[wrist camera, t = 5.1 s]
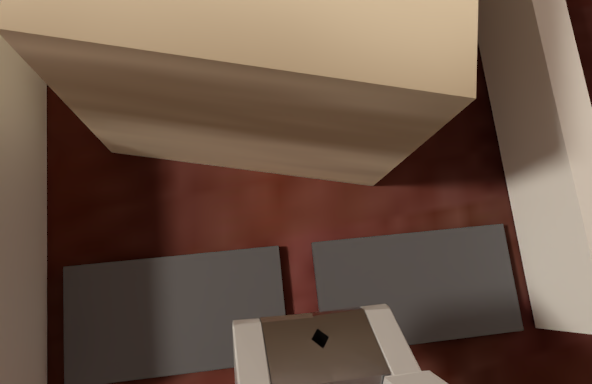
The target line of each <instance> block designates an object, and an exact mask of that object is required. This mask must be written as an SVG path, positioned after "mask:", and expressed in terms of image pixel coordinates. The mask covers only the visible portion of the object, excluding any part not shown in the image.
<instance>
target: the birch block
mask: <svg viewBox="0 0 592 384" xmlns="http://www.w3.org/2000/svg"><path fill="white" fill-rule="evenodd" d="M0 35H1V36H2V37H3V38H4V39H5V40H6V42H7V43H8V44H9V45H10V46H11V47H12V48H13V49H14V50H15V51H16V52H17V53H18V54H19V55H20V56H21V57H22V58H23V60H24V61H25V62H26V63H27V64H28V65H29V66H30V67H31V68H32V69H33V70H34V71H35V72H36V73H37V74H38V75H39V76H40V77H41V79H42V80H43V81H44V82H45V83H46V84H47V85H48V86H49V87H50V88H51V89H52V90H53V91H54V92H55V93H56V94H57V95H58V96H59V98H60V99H61V100H62V101H63V102H64V103H65V104H66V105H67V106H68V107H69V108H70V109H71V110H72V111H73V112H74V113H75V114H76V115H77V117H78V118H79V119H80V120H81V121H82V122H83V123H84V124H85V125H86V126H87V127H88V128H89V129H90V130H91V131H92V132H93V133H94V134H95V136H96V137H97V138H98V139H99V140H100V141H101V142H102V143H103V144H104V145H105V146H106V147H107V148H108V149H109V150H110V151H111V152H112V153H119V154H127V155H135V156H143V157H151V158H158V159H166V160H174V161H182V162H189V163H197V164H205V165H213V166H221V167H228V168H236V169H244V170H252V171H260V172H267V173H275V174H283V175H291V176H298V177H306V178H314V179H322V180H330V181H337V182H345V183H353V184H361V185H368V186H374V185H375V184H376V183H377V182H378V181H380V180H381V179H382V178H383V177H384V176H385V175H387V174H388V173H389V172H390V171H391V170H392V169H394V168H395V167H396V166H397V165H398V164H400V163H401V162H402V161H403V160H404V159H405V158H407V157H408V156H409V155H410V154H411V153H412V152H414V151H415V150H416V149H417V148H418V147H420V146H421V145H422V144H423V143H424V142H425V141H427V140H428V139H429V138H430V137H431V136H433V135H434V134H435V133H436V132H437V131H438V130H440V129H441V128H442V127H443V126H444V125H445V124H447V123H448V122H449V121H450V120H451V119H453V118H454V117H455V116H456V115H457V114H458V113H460V112H461V111H462V110H463V109H464V108H465V107H467V106H468V105H469V104H470V103H471V102H473V101H474V100H475V99H476V81H477V39H478V0H1V3H0Z"/></svg>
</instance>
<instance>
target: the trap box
mask: <svg viewBox="0 0 592 384" xmlns="http://www.w3.org/2000/svg"><path fill="white" fill-rule="evenodd" d="M0 3H1V0H0ZM478 44H479V49H480V54H481V59H482V64H483V69H484V74H485V79H486V84H487V89H488V94H489V99H490V104H491V109H492V114H493V119H494V124H495V128H496V133H497V138H498V143H499V148H500V153H501V158H502V163H503V168H504V173H505V178H506V183H507V188H508V193H509V198H510V203H511V208H512V213H513V218H514V223H515V228H516V233H517V238H518V243H519V248H520V253H521V258H522V263H523V268H524V273H525V278H526V283H527V288H528V293H529V298H530V303H531V308H532V313H533V318H534V323H535V328H540V329H549V330H557V331H566V332H575V333H584V334H592V106H591V102H590V98H589V94H588V90H587V86H586V82H585V78H584V74H583V70H582V66H581V62H580V58H579V54H578V50H577V45H576V41H575V37H574V33H573V29H572V25H571V21H570V17H569V13H568V9H567V5H566V1H565V0H478ZM311 244H312V253H313V262H314V271H315V279H316V288H317V297H318V306H319V312H320V311H328V310H336V309H344V308H353V307H361V306H370V305H378V304H386V305H388V306H389V307H390V309H391V311H392V313H393V315H394V317H395V319H396V321H397V323H398V325H399V327H400V329H401V331H402V333H403V335H404V337H405V339H406V341H407V343H408V345H413V344H421V343H429V342H437V341H445V340H453V339H461V338H468V337H476V336H484V335H492V334H500V333H508V332H516V331H523V330H524V328H523V323H522V318H521V313H520V308H519V303H518V298H517V293H516V288H515V282H514V277H513V272H512V267H511V262H510V257H509V252H508V247H507V242H506V236H505V231H504V226H503V224H496V225H486V226H476V227H465V228H455V229H445V230H435V231H424V232H414V233H404V234H394V235H384V236H373V237H363V238H353V239H343V240H332V241H322V242H312V243H311ZM63 309H64V384H107V383H115V382H123V381H131V380H139V379H146V378H154V377H162V376H170V375H178V374H186V373H194V372H201V371H209V370H217V369H225V368H233V367H234V352H233V329H232V322H233V320H242V319H254V318H259V319H260V317H271V316H282V315H285V306H284V295H283V285H282V275H281V265H280V255H279V246H271V247H261V248H250V249H240V250H230V251H220V252H209V253H199V254H189V255H179V256H168V257H158V258H148V259H138V260H127V261H117V262H107V263H97V264H86V265H76V266H66V267H63ZM0 384H47V84H46V83H45V82H44V81H43V80H42V79H41V77H40V76H39V75H38V74H37V73H36V72H35V71H34V70H33V69H32V68H31V67H30V66H29V65H28V64H27V63H26V62H25V61H24V60H23V58H22V57H21V56H20V55H19V54H18V53H17V52H16V51H15V50H14V49H13V48H12V47H11V46H10V45H9V44H8V43H7V42H6V40H5V39H4V38H3V37H2V36H1V35H0Z"/></svg>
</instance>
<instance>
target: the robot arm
mask: <svg viewBox="0 0 592 384" xmlns="http://www.w3.org/2000/svg"><path fill="white" fill-rule="evenodd" d="M232 329H233V352H234V372H235V384H448V383H447V382H445V381H444V380H442V379H441V378H440V377H438V376H437V375H435V374H434V373H433V372H431V371H430V370H427V371H421V369H420V367H419V365H418V363H417V361H416V359H415V357H414V355H413V353H412V351H411V349H410V347H409V345H408V343H407V341H406V339H405V337H404V335H403V333H402V331H401V329H400V327H399V325H398V323H397V321H396V319H395V317H394V315H393V313H392V311H391V309H390V307H389V306H388V305H386V304H378V305H370V306H361V307H353V308H344V309H336V310H328V311H320V312H312V313H306V314H294V315H282V316H271V317H260V319H259V318H254V319H242V320H233V322H232Z"/></svg>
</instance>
